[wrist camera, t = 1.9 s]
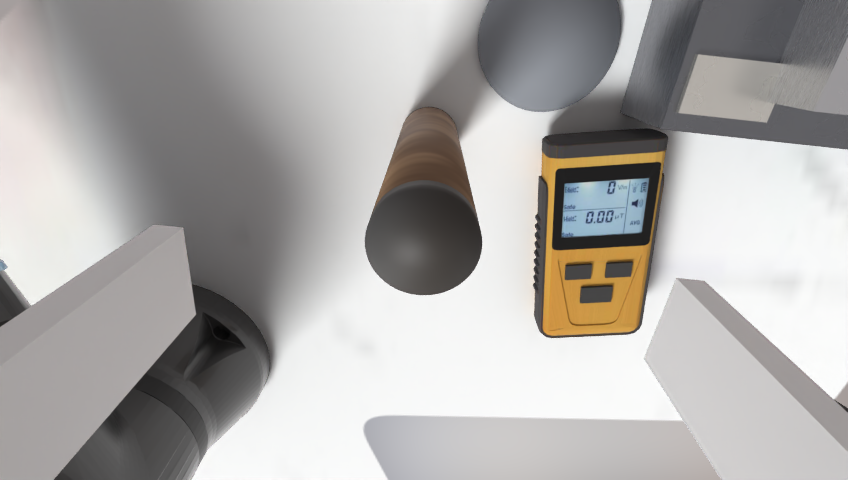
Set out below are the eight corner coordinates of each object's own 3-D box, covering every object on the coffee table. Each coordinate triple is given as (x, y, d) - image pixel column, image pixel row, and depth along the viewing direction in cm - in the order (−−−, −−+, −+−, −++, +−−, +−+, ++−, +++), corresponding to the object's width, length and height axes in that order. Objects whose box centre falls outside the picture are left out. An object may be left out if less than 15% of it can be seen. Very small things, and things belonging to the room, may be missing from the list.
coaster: (468, 103, 30) (469, 104, 30) (490, -51, 26) (491, -52, 26) (597, 117, 30) (599, 118, 30) (636, -34, 27) (639, -34, 26)
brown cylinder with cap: (399, 160, 32) (362, 289, 16) (403, 104, 30) (367, 183, 14) (453, 166, 32) (472, 300, 16) (460, 110, 30) (491, 196, 14)
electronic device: (529, 318, 37) (536, 343, 34) (534, 135, 31) (544, 146, 28) (629, 314, 37) (646, 339, 34) (657, 126, 30) (682, 137, 27)
